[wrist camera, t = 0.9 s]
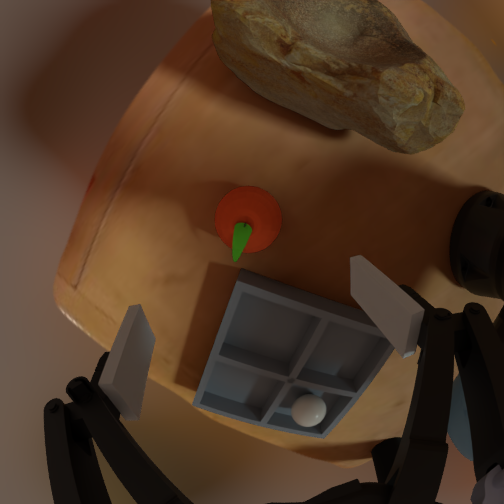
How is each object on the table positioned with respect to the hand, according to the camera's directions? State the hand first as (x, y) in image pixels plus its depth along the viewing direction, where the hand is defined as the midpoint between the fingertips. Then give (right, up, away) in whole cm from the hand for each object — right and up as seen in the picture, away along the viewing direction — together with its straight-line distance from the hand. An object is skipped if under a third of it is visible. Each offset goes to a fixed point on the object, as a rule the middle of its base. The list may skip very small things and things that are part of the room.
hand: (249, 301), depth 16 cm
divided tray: (+6, -13, +21) cm, 25 cm away
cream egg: (+9, -19, +21) cm, 30 cm away
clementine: (0, +7, +16) cm, 17 cm away
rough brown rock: (+10, +25, +10) cm, 28 cm away
